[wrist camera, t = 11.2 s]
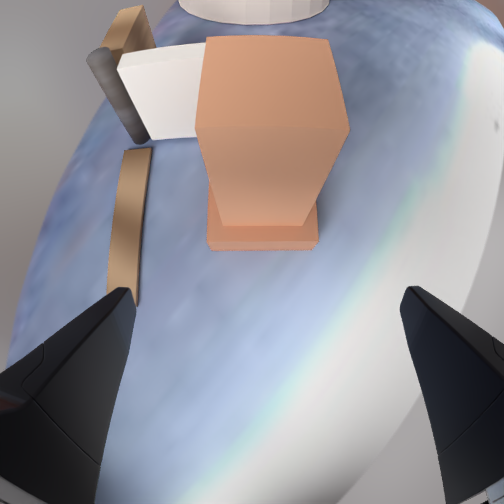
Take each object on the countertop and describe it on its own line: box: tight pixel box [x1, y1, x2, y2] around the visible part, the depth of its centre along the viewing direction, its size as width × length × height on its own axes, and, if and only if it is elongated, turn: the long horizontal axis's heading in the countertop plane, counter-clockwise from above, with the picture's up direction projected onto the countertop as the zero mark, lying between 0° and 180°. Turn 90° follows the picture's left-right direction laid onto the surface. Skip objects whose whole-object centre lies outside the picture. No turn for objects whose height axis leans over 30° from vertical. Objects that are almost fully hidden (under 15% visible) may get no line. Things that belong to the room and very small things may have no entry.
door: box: [117, 43, 206, 140], centre depth 19 cm, size 12×3×9 cm, turn 90°
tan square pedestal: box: [195, 35, 350, 251], centre depth 16 cm, size 7×7×13 cm
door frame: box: [86, 5, 156, 307], centre depth 18 cm, size 22×2×10 cm, turn 0°
